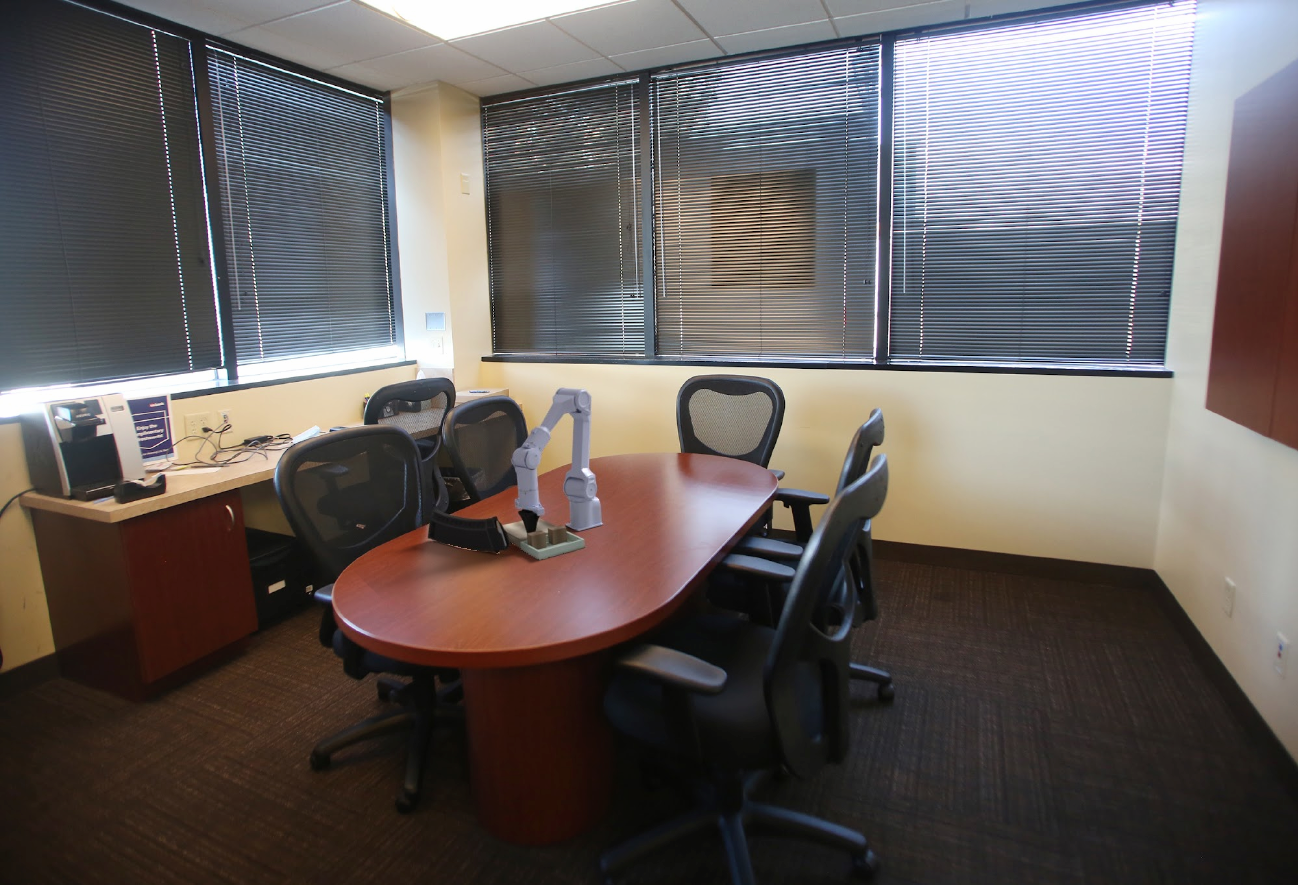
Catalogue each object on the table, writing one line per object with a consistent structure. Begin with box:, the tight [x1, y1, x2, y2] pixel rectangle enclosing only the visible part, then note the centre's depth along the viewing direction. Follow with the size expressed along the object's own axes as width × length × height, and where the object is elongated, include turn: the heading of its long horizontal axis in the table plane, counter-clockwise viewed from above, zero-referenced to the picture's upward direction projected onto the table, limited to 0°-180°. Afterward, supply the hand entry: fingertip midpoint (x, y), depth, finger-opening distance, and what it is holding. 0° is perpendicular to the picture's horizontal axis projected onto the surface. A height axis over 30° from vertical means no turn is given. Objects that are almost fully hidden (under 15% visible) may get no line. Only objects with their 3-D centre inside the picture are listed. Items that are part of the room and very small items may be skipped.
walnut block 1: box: [527, 530, 547, 550], centre depth 205 cm, size 4×4×3 cm
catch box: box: [520, 530, 586, 561], centre depth 205 cm, size 15×11×2 cm
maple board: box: [502, 517, 556, 549], centre depth 216 cm, size 14×16×3 cm
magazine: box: [427, 508, 512, 554], centre depth 208 cm, size 17×3×30 cm
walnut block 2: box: [548, 524, 568, 545], centre depth 209 cm, size 4×4×3 cm
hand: (531, 533), depth 208 cm, fingers closed
